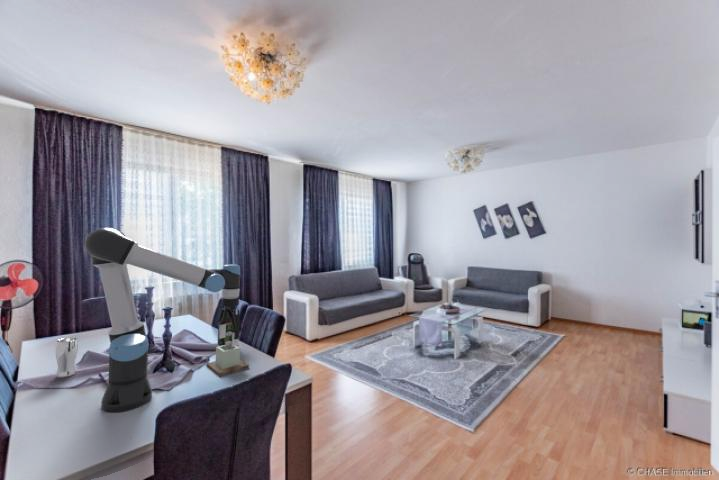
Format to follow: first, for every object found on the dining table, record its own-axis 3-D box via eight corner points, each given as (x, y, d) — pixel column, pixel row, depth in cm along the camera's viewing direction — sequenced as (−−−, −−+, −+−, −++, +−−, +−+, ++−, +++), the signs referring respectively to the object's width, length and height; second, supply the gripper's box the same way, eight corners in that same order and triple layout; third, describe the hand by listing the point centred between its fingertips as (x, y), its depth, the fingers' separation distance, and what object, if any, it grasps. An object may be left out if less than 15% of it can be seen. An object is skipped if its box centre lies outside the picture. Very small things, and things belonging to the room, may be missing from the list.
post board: (219, 376, 140) (220, 349, 140) (206, 366, 150) (207, 341, 149) (248, 368, 150) (249, 343, 150) (235, 358, 160) (236, 335, 160)
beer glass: (77, 374, 135) (79, 340, 135) (55, 379, 130) (56, 343, 130) (76, 369, 140) (77, 336, 140) (54, 374, 135) (55, 339, 135)
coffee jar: (215, 346, 176) (216, 313, 175) (230, 343, 181) (231, 311, 180) (220, 351, 168) (222, 317, 168) (235, 348, 173) (237, 315, 173)
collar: (222, 369, 144) (223, 351, 144) (215, 363, 150) (216, 346, 150) (239, 364, 150) (240, 347, 150) (231, 359, 156) (232, 343, 155)
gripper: (251, 301, 143) (248, 347, 144) (226, 292, 160) (224, 333, 161) (235, 303, 138) (232, 351, 138) (211, 293, 155) (209, 336, 155)
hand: (228, 341), depth 150 cm, fingers open, 13 cm apart
